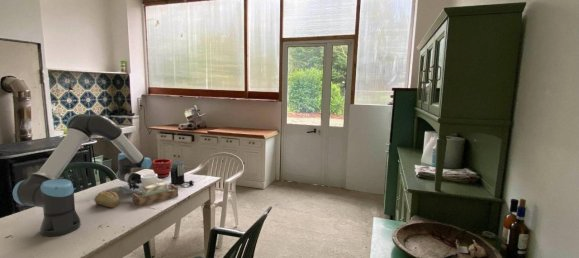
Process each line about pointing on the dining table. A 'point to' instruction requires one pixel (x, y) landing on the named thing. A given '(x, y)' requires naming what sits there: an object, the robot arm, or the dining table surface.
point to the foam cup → (148, 179)
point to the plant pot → (162, 167)
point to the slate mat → (128, 190)
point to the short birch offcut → (155, 187)
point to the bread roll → (107, 199)
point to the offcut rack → (155, 197)
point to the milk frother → (178, 173)
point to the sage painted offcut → (155, 192)
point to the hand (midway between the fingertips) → (152, 185)
